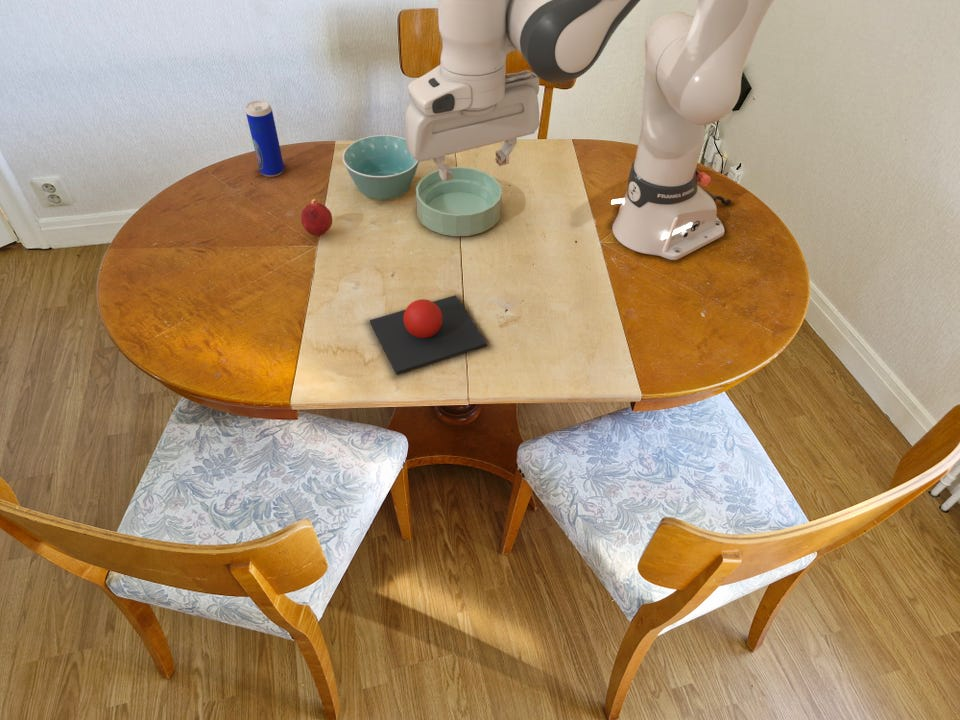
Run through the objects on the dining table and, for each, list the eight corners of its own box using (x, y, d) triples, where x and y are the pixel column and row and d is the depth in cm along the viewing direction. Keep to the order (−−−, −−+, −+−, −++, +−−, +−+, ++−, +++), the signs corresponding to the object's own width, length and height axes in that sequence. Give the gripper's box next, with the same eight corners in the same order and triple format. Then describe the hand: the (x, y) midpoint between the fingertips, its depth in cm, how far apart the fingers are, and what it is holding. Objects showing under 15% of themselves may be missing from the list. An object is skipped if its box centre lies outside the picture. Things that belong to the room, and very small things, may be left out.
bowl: (412, 215, 140) (410, 179, 134) (337, 206, 141) (332, 171, 135) (428, 173, 151) (427, 138, 145) (358, 165, 152) (354, 131, 146)
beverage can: (259, 166, 151) (243, 101, 140) (283, 163, 152) (269, 98, 141) (261, 179, 147) (245, 113, 136) (285, 176, 149) (272, 110, 138)
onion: (328, 246, 132) (322, 211, 127) (300, 241, 133) (292, 207, 127) (338, 228, 136) (333, 193, 130) (310, 224, 137) (304, 189, 131)
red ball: (436, 309, 118) (428, 285, 113) (451, 335, 115) (444, 311, 110) (403, 325, 118) (393, 302, 112) (417, 351, 114) (407, 328, 109)
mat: (455, 298, 123) (455, 295, 123) (486, 346, 115) (487, 342, 115) (370, 323, 118) (369, 319, 118) (396, 375, 110) (396, 371, 110)
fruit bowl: (479, 182, 149) (479, 160, 145) (514, 226, 138) (516, 203, 134) (405, 200, 143) (403, 177, 139) (436, 247, 133) (435, 223, 129)
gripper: (529, 58, 100) (525, 145, 110) (396, 87, 94) (405, 176, 104) (550, 76, 96) (544, 164, 106) (413, 107, 90) (420, 197, 100)
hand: (474, 170), depth 105 cm, fingers open, 8 cm apart
